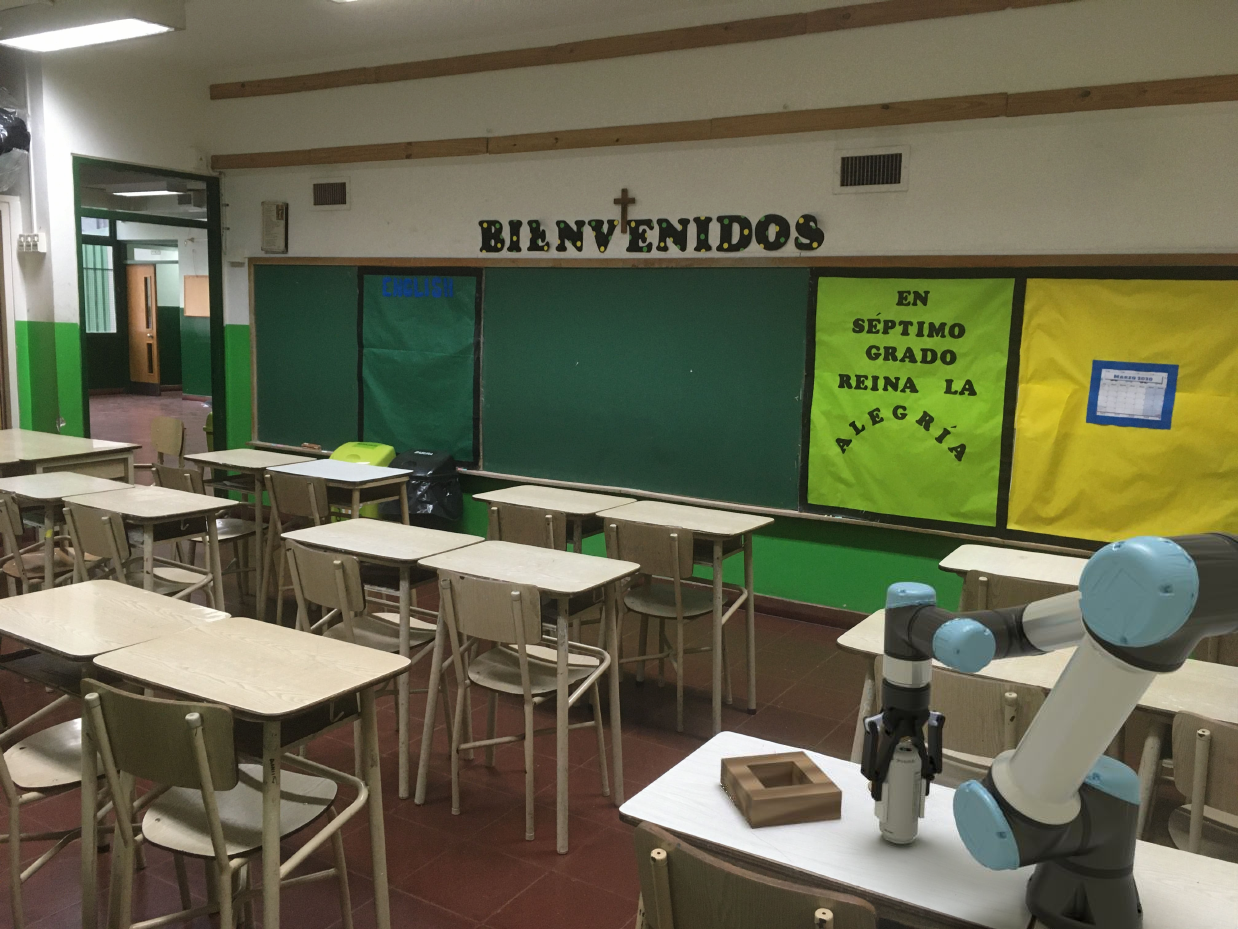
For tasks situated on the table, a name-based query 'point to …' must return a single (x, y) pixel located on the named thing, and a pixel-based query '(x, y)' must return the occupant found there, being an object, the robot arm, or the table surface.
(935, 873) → the table surface
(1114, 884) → the robot arm
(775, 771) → the square wooden frame
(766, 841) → the table surface
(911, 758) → the energy drink can
